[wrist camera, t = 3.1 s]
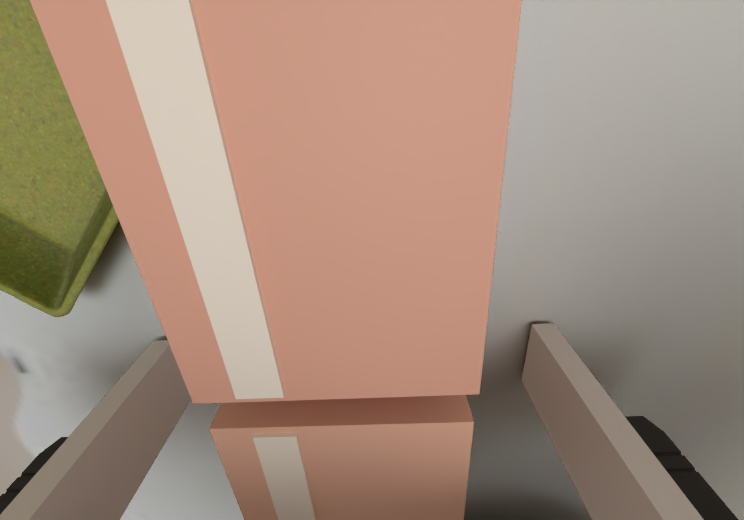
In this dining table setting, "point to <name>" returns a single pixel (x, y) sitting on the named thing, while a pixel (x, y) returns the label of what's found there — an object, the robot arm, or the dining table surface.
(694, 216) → the dining table surface
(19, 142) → the green square tray
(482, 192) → the pink striped box
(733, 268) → the dining table surface
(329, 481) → the pink box
